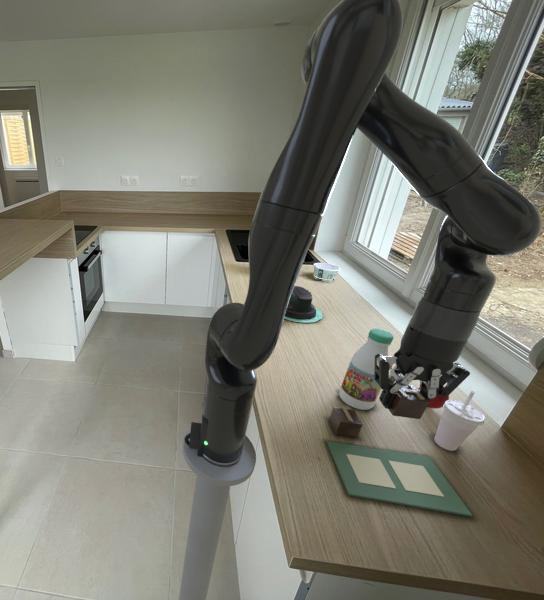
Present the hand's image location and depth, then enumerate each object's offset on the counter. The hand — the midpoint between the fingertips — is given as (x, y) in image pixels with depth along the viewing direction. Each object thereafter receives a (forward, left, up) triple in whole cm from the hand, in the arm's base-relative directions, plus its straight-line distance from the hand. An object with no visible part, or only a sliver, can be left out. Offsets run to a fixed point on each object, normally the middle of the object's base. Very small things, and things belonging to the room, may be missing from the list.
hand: (400, 407), depth 59 cm
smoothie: (+18, +9, -15) cm, 25 cm away
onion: (+21, +21, -15) cm, 33 cm away
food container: (+25, +114, -15) cm, 117 cm away
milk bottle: (+4, +20, -15) cm, 25 cm away
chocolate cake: (+1, +71, -15) cm, 72 cm away
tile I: (-3, +9, -15) cm, 17 cm away
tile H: (0, 0, 0) cm, 0 cm away
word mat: (+2, -2, -15) cm, 15 cm away
